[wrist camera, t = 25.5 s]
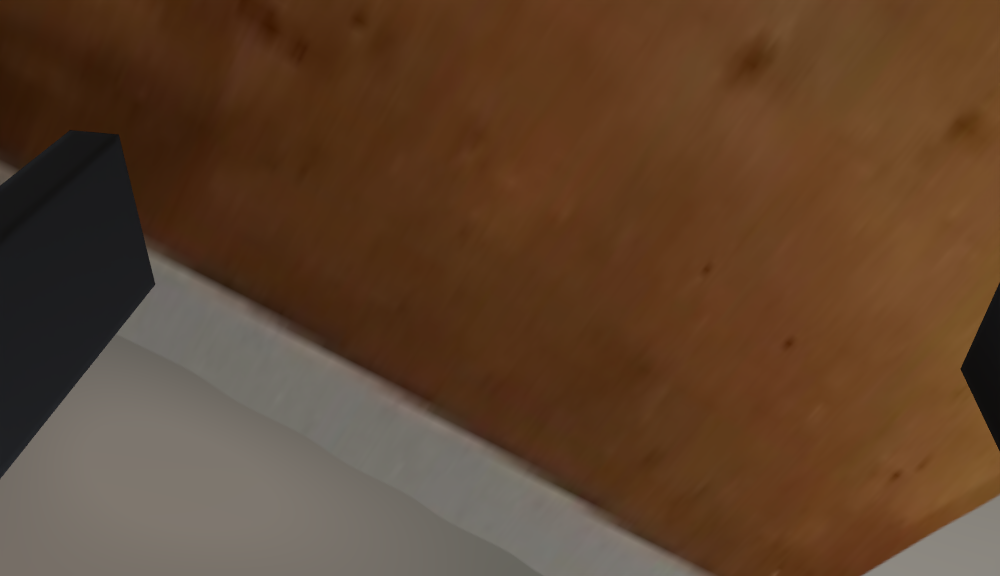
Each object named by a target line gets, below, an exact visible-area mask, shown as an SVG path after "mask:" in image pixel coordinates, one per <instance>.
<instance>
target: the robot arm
mask: <svg viewBox="0 0 1000 576" xmlns="http://www.w3.org/2000/svg"><path fill="white" fill-rule="evenodd" d="M154 285H155V282H154V278H153V273H152V269H151V265H150V261H149V257H148V253H147V249H146V245H145V241H144V237H143V233H142V228H141V224H140V220H139V216H138V212H137V208H136V204H135V200H134V196H133V192H132V187H131V183H130V179H129V175H128V171H127V167H126V163H125V159H124V155H123V151H122V147H121V142H120V138H119V135H117V134H106V133H95V132H84V131H72V130H70V131H69V132H67V133H66V134H65V135H64V136H62V137H61V138H60V139H59V140H57V141H56V142H55V143H54V144H52V145H51V146H50V147H49V148H47V149H46V150H45V151H43V152H42V153H41V154H40V155H38V156H37V157H36V158H35V159H33V160H32V161H31V162H30V163H28V164H27V165H26V166H25V167H23V168H22V169H21V170H19V171H18V172H17V173H16V174H14V175H13V176H12V177H11V178H9V179H8V180H7V181H6V182H4V183H3V184H2V185H1V186H0V478H1V477H2V476H3V475H4V473H5V472H6V471H7V470H8V468H9V467H10V466H11V464H12V463H13V462H14V461H15V460H16V458H17V457H18V456H19V455H20V453H21V452H22V451H23V450H24V448H25V447H26V446H27V445H28V443H29V442H30V441H31V439H32V438H33V437H34V436H35V435H36V433H37V432H38V431H39V429H40V428H41V427H42V426H43V424H44V423H45V422H46V421H47V419H48V418H49V417H50V416H51V414H52V413H53V412H54V411H55V409H56V408H57V407H58V405H59V404H60V403H61V402H62V401H63V399H64V398H65V397H66V396H67V394H68V393H69V392H70V391H71V389H72V388H73V387H74V386H75V384H76V383H77V382H78V381H79V379H80V378H81V377H82V375H83V374H84V373H85V372H86V371H87V369H88V368H89V367H90V365H91V364H92V363H93V362H94V361H95V359H96V358H97V357H98V356H99V354H100V353H101V352H102V350H103V349H104V348H105V347H106V346H107V344H108V343H109V342H110V340H111V339H112V338H113V337H114V335H115V334H116V333H117V332H118V330H119V329H120V328H121V327H122V325H123V324H124V323H125V322H126V320H127V319H128V318H129V317H130V315H131V314H132V313H133V312H134V310H135V309H136V308H137V307H138V305H139V304H140V303H141V302H142V300H143V299H144V298H145V297H146V295H147V294H148V293H149V292H150V290H151V289H152V288H153V287H154ZM961 371H962V373H963V375H964V377H965V379H966V382H967V384H968V386H969V388H970V390H971V392H972V394H973V396H974V398H975V400H976V403H977V405H978V407H979V409H980V411H981V413H982V415H983V417H984V419H985V421H986V424H987V426H988V428H989V430H990V432H991V434H992V436H993V438H994V440H995V442H996V445H997V447H998V449H999V451H1000V283H999V285H998V288H997V290H996V292H995V294H994V296H993V299H992V301H991V303H990V305H989V307H988V310H987V312H986V314H985V316H984V318H983V321H982V323H981V325H980V327H979V329H978V332H977V334H976V336H975V338H974V340H973V343H972V345H971V347H970V349H969V351H968V354H967V356H966V358H965V360H964V362H963V365H962V367H961Z"/></svg>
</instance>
